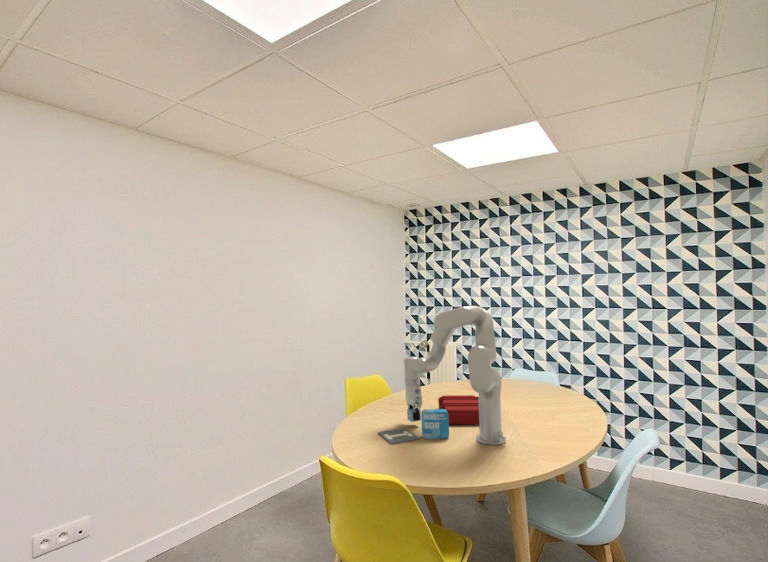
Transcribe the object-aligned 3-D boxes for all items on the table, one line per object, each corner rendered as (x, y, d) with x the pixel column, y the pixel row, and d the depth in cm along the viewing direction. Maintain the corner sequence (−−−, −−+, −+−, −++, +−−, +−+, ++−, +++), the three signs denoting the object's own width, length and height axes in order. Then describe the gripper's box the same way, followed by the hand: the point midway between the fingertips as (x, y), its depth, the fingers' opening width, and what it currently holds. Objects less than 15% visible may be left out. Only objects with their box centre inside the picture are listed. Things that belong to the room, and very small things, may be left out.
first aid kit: (438, 409, 227) (437, 393, 227) (478, 408, 225) (478, 393, 226) (442, 426, 195) (441, 408, 196) (489, 426, 193) (488, 408, 194)
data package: (422, 439, 177) (421, 412, 177) (421, 435, 181) (421, 409, 182) (449, 438, 176) (448, 411, 177) (447, 435, 181) (447, 408, 182)
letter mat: (419, 439, 176) (419, 438, 176) (390, 444, 171) (390, 443, 171) (404, 429, 191) (404, 428, 191) (378, 433, 186) (377, 432, 186)
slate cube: (421, 420, 194) (420, 410, 195) (411, 421, 192) (411, 411, 193) (416, 418, 199) (416, 407, 199) (407, 419, 197) (407, 409, 197)
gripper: (427, 383, 190) (428, 422, 189) (411, 378, 206) (413, 413, 205) (413, 385, 188) (414, 424, 186) (398, 379, 203) (400, 415, 202)
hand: (414, 418), depth 196 cm, fingers closed on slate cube, 4 cm apart
